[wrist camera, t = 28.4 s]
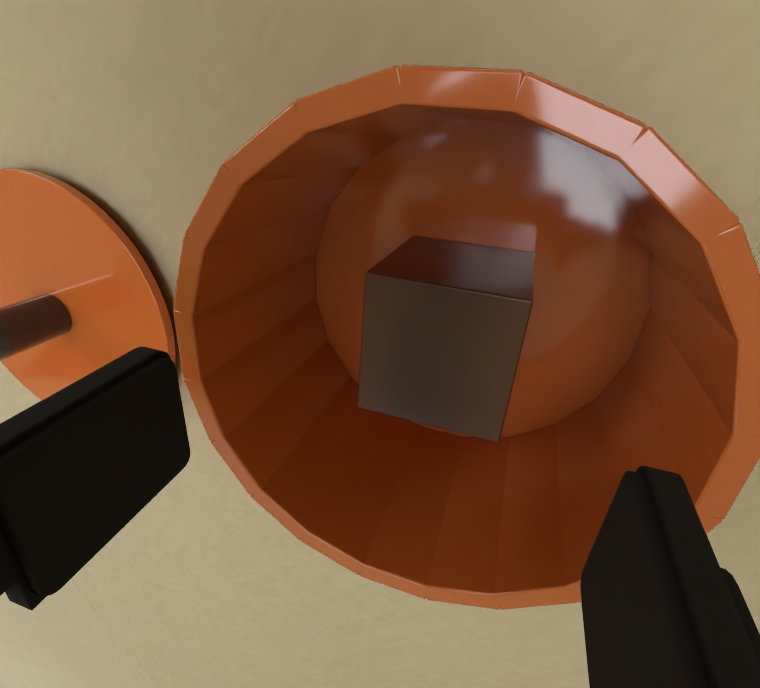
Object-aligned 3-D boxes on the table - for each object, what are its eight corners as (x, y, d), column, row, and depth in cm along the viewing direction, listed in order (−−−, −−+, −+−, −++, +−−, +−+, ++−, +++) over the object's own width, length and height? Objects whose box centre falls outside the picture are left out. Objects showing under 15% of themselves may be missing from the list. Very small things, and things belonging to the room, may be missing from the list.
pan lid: (15, 388, 34) (-75, 431, 29) (-67, 154, 26) (-206, 158, 21) (197, 443, 29) (129, 505, 25) (161, 184, 22) (53, 198, 17)
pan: (307, 402, 25) (203, 521, 17) (307, 88, 18) (133, 52, 10) (600, 477, 21) (634, 674, 13) (740, 115, 14) (977, 89, 7)
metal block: (401, 340, 21) (356, 407, 16) (412, 234, 19) (364, 272, 14) (509, 363, 20) (498, 443, 14) (535, 252, 17) (533, 301, 12)
